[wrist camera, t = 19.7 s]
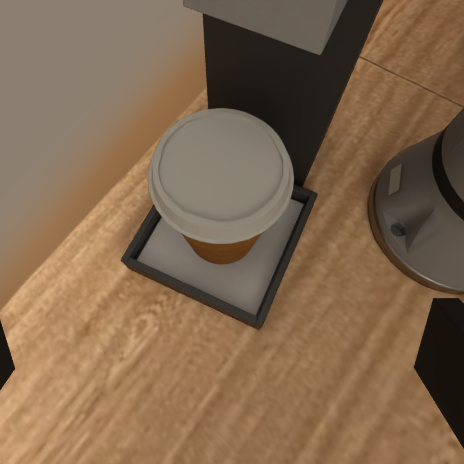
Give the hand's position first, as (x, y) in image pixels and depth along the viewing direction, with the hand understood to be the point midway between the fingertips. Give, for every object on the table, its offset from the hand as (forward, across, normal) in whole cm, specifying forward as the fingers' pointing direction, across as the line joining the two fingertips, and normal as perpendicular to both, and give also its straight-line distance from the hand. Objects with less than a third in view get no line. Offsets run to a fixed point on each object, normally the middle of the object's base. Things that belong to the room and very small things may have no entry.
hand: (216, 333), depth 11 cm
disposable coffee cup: (+22, 0, -7) cm, 23 cm away
